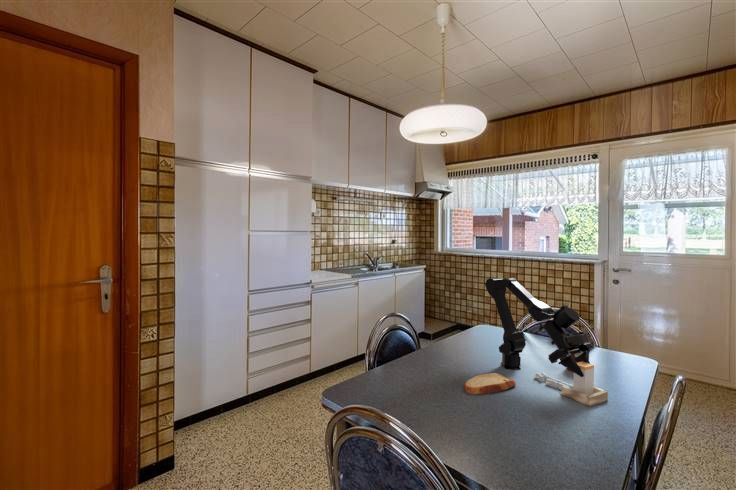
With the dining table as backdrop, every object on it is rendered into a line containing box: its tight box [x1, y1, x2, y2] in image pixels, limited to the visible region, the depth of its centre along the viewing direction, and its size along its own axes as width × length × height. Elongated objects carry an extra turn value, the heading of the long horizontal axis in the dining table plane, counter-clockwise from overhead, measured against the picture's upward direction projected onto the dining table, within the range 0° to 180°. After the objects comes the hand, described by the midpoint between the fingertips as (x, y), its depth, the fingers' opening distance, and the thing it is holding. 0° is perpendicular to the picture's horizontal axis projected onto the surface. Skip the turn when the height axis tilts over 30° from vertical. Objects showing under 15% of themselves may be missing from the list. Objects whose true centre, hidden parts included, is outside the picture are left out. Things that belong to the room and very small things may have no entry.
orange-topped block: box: [572, 361, 595, 395], centre depth 121 cm, size 4×5×10 cm
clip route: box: [534, 371, 573, 391], centre depth 131 cm, size 6×14×2 cm, turn 21°
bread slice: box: [463, 372, 517, 395], centre depth 129 cm, size 18×18×4 cm
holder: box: [559, 386, 609, 408], centre depth 121 cm, size 10×10×3 cm
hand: (587, 375), depth 120 cm, fingers closed on orange-topped block, 5 cm apart
